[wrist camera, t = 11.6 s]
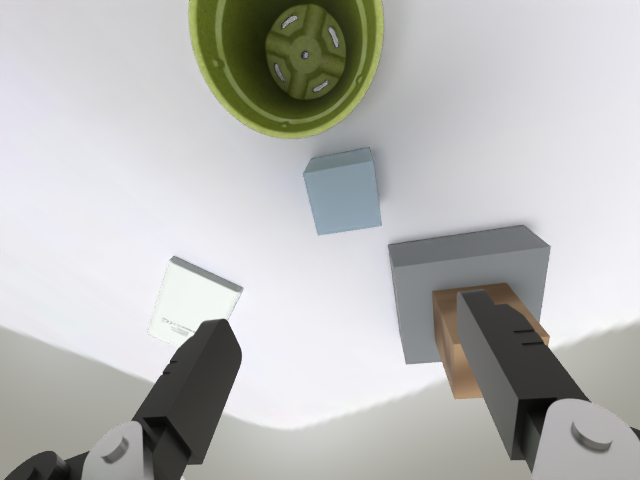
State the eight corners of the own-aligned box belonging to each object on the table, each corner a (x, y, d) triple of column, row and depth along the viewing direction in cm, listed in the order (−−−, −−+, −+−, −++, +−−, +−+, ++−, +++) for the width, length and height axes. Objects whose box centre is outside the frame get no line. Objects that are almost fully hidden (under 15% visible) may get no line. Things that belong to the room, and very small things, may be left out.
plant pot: (330, -65, 19) (317, -173, 11) (392, 80, 22) (415, 76, 14) (219, 28, 21) (147, -5, 14) (289, 144, 25) (262, 169, 17)
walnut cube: (432, 291, 26) (453, 344, 20) (506, 282, 24) (549, 336, 19) (434, 340, 28) (454, 399, 23) (502, 334, 27) (539, 394, 22)
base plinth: (388, 245, 28) (393, 267, 25) (523, 224, 26) (550, 246, 23) (400, 335, 33) (406, 364, 30) (513, 324, 31) (534, 354, 28)
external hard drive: (245, 285, 33) (212, 350, 38) (176, 253, 32) (152, 325, 37) (240, 294, 31) (207, 360, 37) (167, 261, 30) (144, 334, 36)
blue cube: (311, 158, 25) (303, 173, 21) (369, 147, 24) (373, 160, 20) (323, 211, 27) (317, 235, 23) (376, 202, 27) (381, 225, 22)
